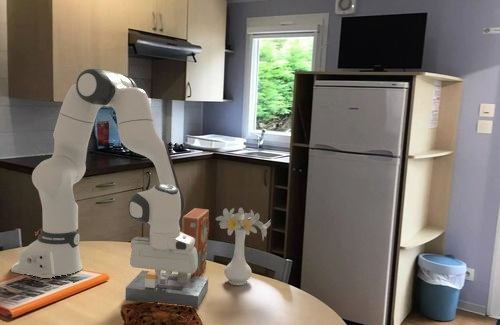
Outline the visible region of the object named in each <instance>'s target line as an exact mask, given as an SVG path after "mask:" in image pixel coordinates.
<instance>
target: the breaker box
mask: <svg viewBox="0 0 500 325" xmlns="http://www.w3.org/2000/svg"><path fill="white" fill-rule="evenodd" d="M149 271H150V270H141V271H140V272H139V273H138V274H137V275H136V276H135V277H134V279H132V281H130V282H129V283H128V285H127V286H125V301H128V302H134V303H135V302H136V303H137V302H138V303H143V302H159V303H168V304H177V305H185V306H192V307H193V308H192V309H195V310H199V307H200V305H201V303H202V301H203V300H204V297H205V296H206V294H207V292H208V290H209V277H207V276H206V277H205V276H191V273H182V272H177V273H171V275H170V276H169V278H168V284H159V283H158V285H157V286H156V287H155V288H148V287H145V275H146V274H147V273H148V272H149ZM161 274H162V276H163V277H166V276H167V275H168V274H166V272H161Z"/></svg>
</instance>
